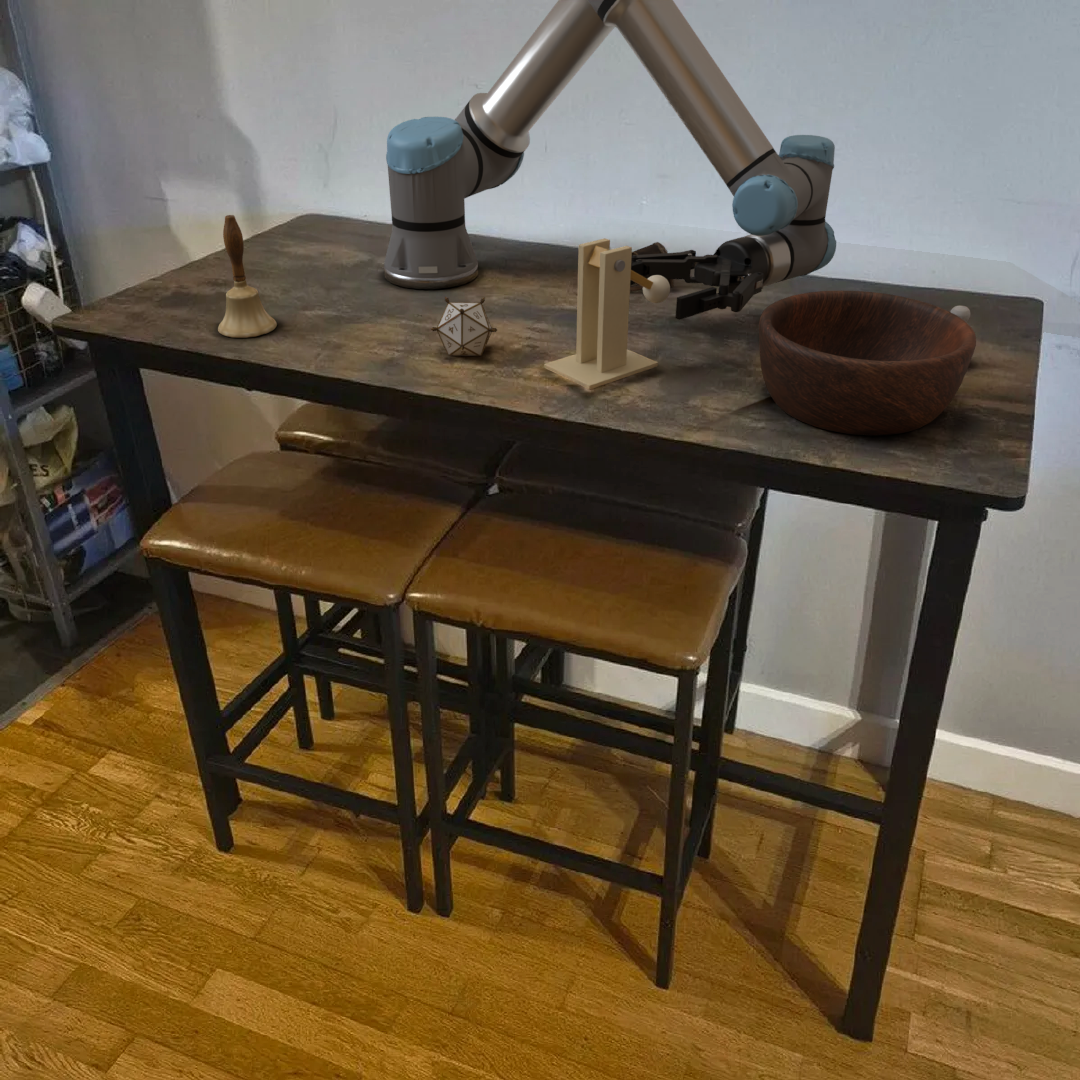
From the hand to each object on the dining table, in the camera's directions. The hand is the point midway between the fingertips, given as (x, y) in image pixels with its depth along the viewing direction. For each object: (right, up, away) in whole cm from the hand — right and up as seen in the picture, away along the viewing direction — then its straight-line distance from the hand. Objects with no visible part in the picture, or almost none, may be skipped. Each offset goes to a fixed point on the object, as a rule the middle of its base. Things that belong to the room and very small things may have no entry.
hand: (640, 294), depth 138 cm
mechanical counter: (+2, +8, +30) cm, 31 cm away
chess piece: (+42, -8, +4) cm, 43 cm away
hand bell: (-55, -2, +15) cm, 57 cm away
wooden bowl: (+26, -15, -6) cm, 31 cm away
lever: (-2, 0, -2) cm, 3 cm away
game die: (-23, -7, +6) cm, 25 cm away
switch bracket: (-5, -10, +1) cm, 11 cm away
